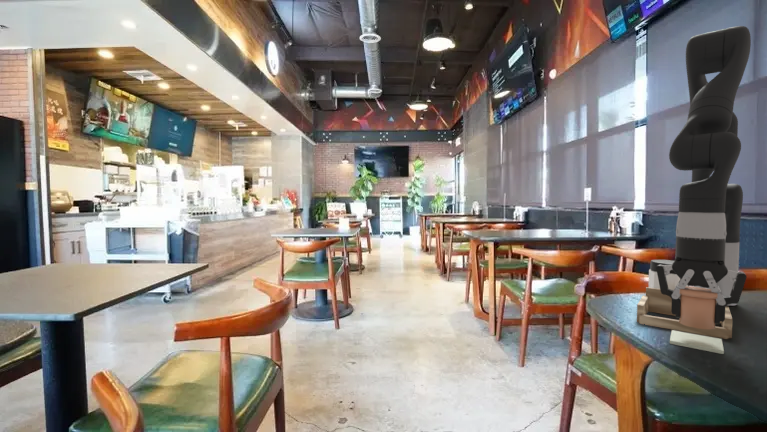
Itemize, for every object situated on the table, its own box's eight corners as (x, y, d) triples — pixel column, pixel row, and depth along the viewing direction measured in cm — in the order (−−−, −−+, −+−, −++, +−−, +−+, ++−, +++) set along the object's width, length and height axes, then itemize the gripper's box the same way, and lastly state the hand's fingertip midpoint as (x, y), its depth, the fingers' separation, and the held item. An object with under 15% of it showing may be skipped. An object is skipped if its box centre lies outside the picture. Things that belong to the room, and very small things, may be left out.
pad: (671, 332, 81) (671, 330, 81) (721, 341, 76) (721, 338, 76) (669, 343, 75) (669, 340, 75) (723, 354, 70) (723, 351, 70)
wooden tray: (642, 309, 99) (643, 286, 98) (727, 322, 88) (728, 297, 88) (636, 323, 88) (636, 297, 87) (732, 340, 77) (733, 311, 77)
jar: (692, 306, 102) (693, 262, 101) (683, 312, 96) (685, 265, 96) (652, 299, 108) (654, 258, 108) (643, 304, 103) (644, 261, 103)
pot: (677, 318, 80) (678, 285, 79) (716, 324, 76) (718, 289, 75) (676, 325, 75) (677, 290, 75) (718, 332, 71) (719, 295, 71)
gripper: (748, 236, 73) (744, 323, 74) (657, 232, 82) (654, 309, 83) (753, 239, 67) (748, 333, 68) (654, 234, 76) (651, 317, 77)
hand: (696, 319), depth 75 cm, fingers closed on pot, 5 cm apart
